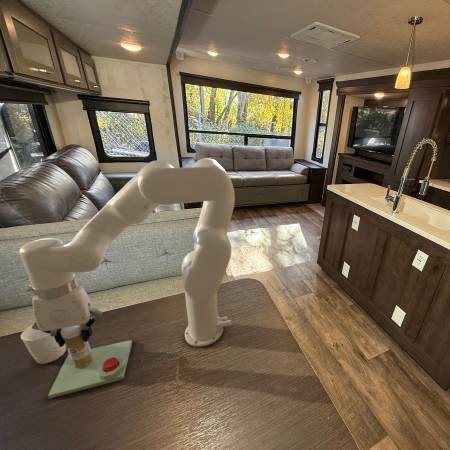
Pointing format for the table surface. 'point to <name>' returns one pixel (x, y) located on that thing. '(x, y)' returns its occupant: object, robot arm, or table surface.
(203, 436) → the table surface
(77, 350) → the sprinkles bottle
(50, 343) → the white cup
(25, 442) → the table surface
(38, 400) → the table surface
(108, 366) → the button
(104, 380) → the scale
